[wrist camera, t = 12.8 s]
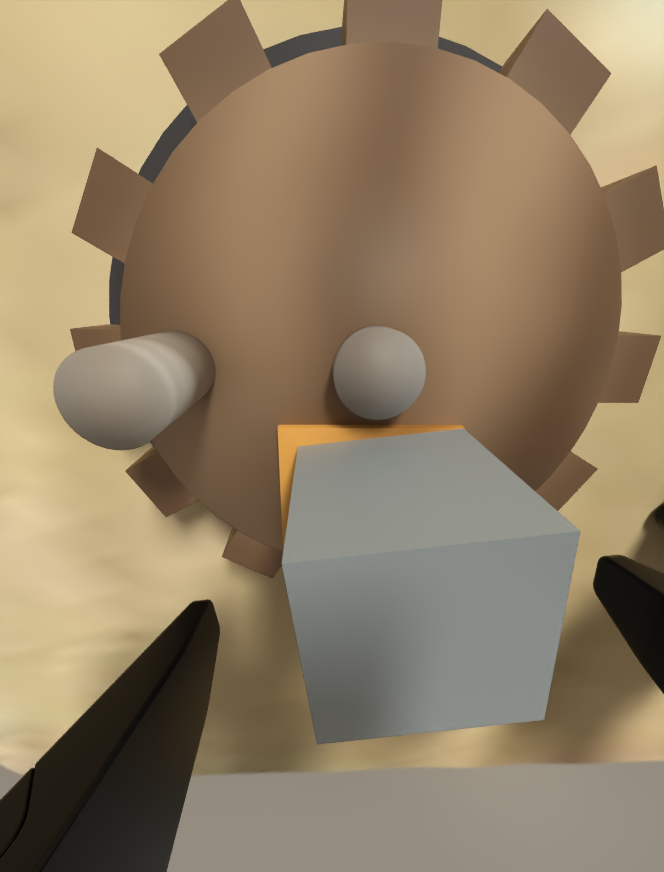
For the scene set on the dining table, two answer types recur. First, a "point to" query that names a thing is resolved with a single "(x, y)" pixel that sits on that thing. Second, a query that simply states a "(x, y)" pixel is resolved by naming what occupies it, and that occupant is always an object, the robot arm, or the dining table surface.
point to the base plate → (187, 122)
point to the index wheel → (360, 266)
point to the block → (422, 586)
